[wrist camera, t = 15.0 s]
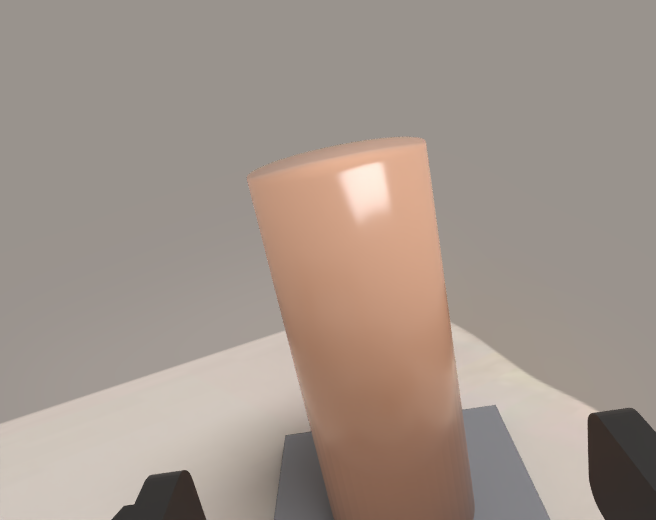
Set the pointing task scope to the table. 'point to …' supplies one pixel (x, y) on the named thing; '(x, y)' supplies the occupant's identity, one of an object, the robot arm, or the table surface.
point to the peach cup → (369, 325)
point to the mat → (485, 465)
